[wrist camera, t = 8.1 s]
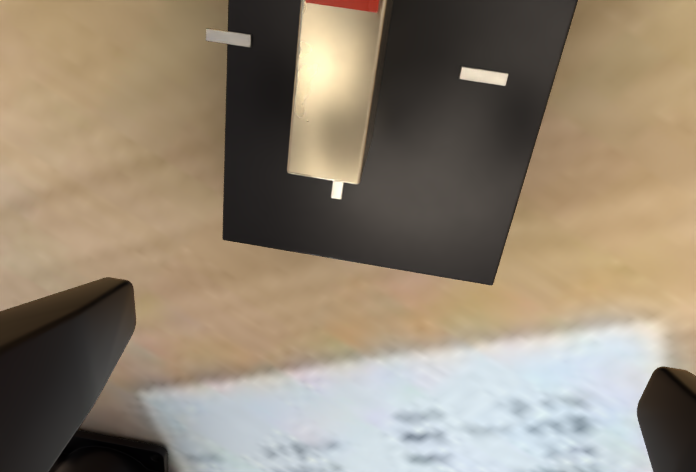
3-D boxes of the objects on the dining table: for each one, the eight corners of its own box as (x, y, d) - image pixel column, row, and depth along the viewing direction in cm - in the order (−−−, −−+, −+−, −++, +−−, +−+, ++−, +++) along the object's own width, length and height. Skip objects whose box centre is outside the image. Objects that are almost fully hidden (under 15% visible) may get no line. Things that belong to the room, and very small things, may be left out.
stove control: (232, 208, 21) (204, 239, 18) (243, -136, 16) (207, -170, 13) (481, 249, 20) (493, 288, 17) (576, -92, 15) (615, -116, 12)
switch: (371, 141, 16) (358, 188, 12) (316, 133, 16) (283, 177, 12) (398, -33, 14) (394, -54, 9) (335, -42, 14) (303, -67, 10)
